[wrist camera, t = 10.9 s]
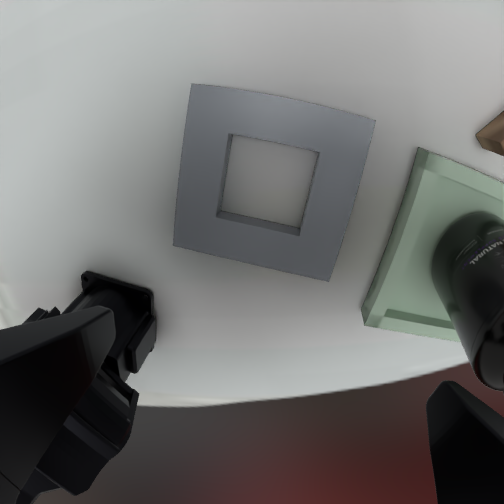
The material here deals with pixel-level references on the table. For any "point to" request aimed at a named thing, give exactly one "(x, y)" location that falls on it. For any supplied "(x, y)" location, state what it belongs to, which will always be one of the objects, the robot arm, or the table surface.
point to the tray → (426, 244)
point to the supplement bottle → (475, 291)
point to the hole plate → (281, 131)
